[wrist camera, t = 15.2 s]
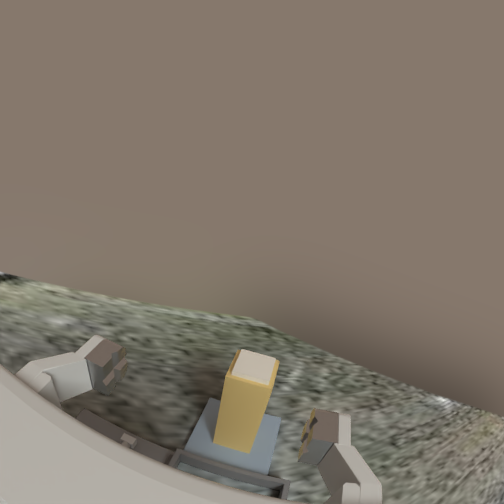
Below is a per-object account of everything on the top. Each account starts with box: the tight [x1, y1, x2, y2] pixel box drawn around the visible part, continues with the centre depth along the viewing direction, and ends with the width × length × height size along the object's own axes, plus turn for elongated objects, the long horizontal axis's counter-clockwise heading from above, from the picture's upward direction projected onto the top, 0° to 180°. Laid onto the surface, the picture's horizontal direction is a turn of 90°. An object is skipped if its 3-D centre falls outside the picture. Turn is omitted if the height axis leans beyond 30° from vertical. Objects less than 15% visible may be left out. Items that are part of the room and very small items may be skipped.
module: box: [213, 349, 279, 454], centre depth 31 cm, size 4×4×13 cm
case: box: [75, 408, 290, 500], centre depth 21 cm, size 26×16×2 cm, turn 77°
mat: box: [184, 398, 281, 476], centre depth 33 cm, size 10×10×1 cm
